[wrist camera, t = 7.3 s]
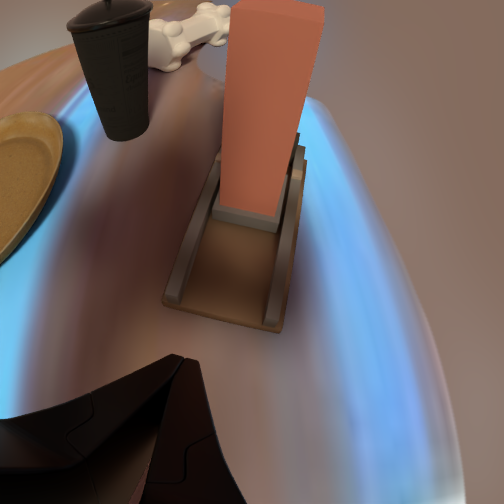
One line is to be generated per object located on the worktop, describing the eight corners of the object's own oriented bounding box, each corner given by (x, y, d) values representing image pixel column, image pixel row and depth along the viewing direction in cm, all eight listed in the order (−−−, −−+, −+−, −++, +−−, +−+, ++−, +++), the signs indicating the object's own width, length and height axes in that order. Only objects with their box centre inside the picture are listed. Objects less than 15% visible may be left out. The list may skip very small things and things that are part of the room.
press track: (279, 333, 20) (292, 314, 17) (163, 305, 20) (152, 281, 17) (304, 167, 28) (314, 135, 25) (222, 149, 29) (223, 116, 25)
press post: (275, 233, 23) (333, 28, 10) (212, 218, 23) (218, 9, 10) (285, 184, 25) (331, 7, 12) (228, 172, 25) (244, -9, 12)
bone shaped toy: (177, 81, 36) (180, 29, 29) (133, 65, 37) (132, 18, 30) (236, 49, 43) (244, 7, 36) (195, 35, 44) (200, -4, 37)
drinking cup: (128, 102, 32) (112, -53, 15) (175, 118, 31) (172, -61, 13) (80, 138, 28) (42, -32, 11) (126, 159, 27) (94, -48, 10)
